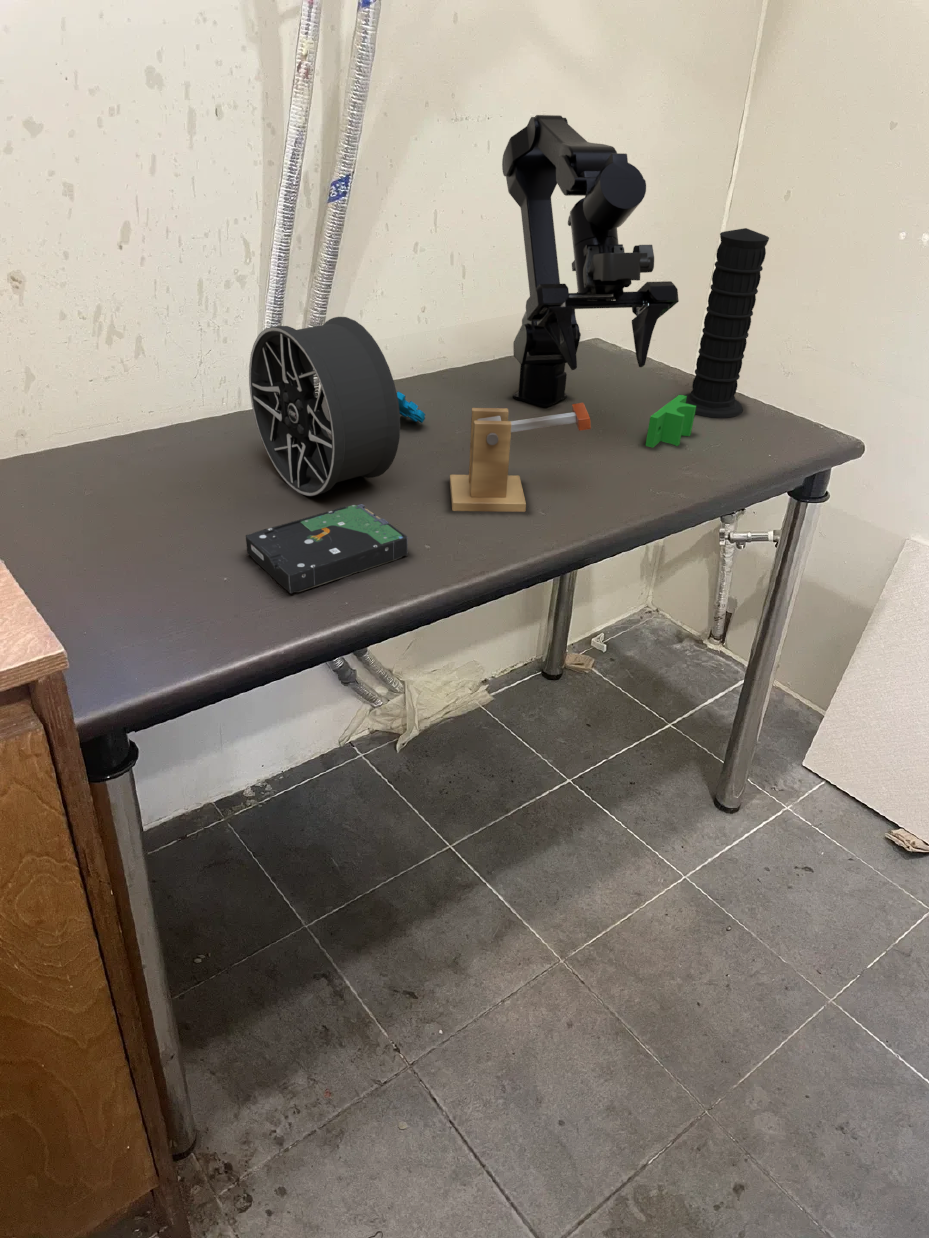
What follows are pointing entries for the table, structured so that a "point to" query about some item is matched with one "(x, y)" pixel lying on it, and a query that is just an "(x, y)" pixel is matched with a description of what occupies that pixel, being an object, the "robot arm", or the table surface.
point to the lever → (551, 420)
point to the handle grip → (727, 323)
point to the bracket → (488, 468)
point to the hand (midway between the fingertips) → (608, 367)
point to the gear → (409, 409)
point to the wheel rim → (352, 397)
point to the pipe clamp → (671, 422)
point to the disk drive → (326, 547)
